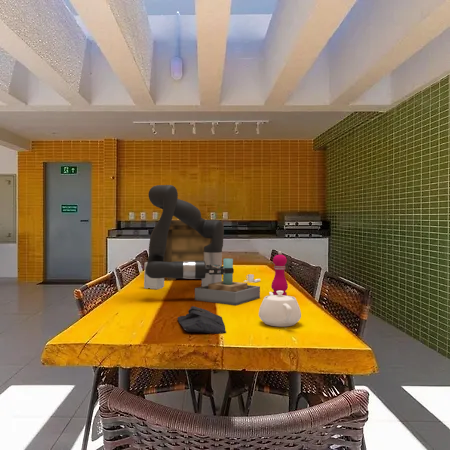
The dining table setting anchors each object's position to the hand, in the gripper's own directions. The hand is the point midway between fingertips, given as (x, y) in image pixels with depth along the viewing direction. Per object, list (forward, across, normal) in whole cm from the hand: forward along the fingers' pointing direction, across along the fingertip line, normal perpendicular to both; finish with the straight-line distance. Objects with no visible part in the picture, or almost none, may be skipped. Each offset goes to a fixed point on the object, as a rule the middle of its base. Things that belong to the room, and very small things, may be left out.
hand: (232, 269), depth 188 cm
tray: (-2, 0, +12) cm, 13 cm away
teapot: (+9, -44, +13) cm, 47 cm away
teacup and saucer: (+18, +49, +13) cm, 54 cm away
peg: (-2, 0, +9) cm, 10 cm away
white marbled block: (-34, +32, +13) cm, 48 cm away
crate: (-14, +72, +13) cm, 74 cm away
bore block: (-2, 0, +12) cm, 13 cm away
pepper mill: (+22, +5, +13) cm, 26 cm away
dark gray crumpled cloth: (-16, -46, +13) cm, 50 cm away
